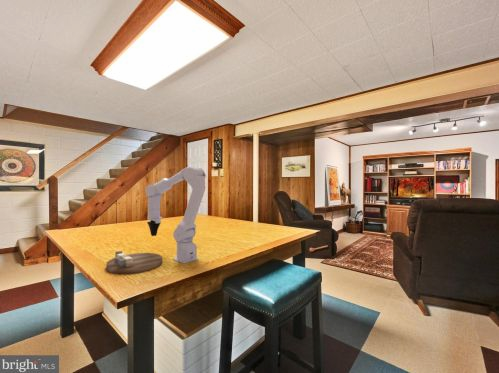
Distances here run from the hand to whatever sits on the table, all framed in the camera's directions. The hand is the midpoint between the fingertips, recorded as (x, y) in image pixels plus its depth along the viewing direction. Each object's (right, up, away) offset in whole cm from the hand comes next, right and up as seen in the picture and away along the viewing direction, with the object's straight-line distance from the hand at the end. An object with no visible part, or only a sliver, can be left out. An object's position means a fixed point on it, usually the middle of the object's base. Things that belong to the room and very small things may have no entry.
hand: (153, 235), depth 119 cm
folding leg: (-5, -7, -20) cm, 22 cm away
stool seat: (-2, -9, -16) cm, 18 cm away
